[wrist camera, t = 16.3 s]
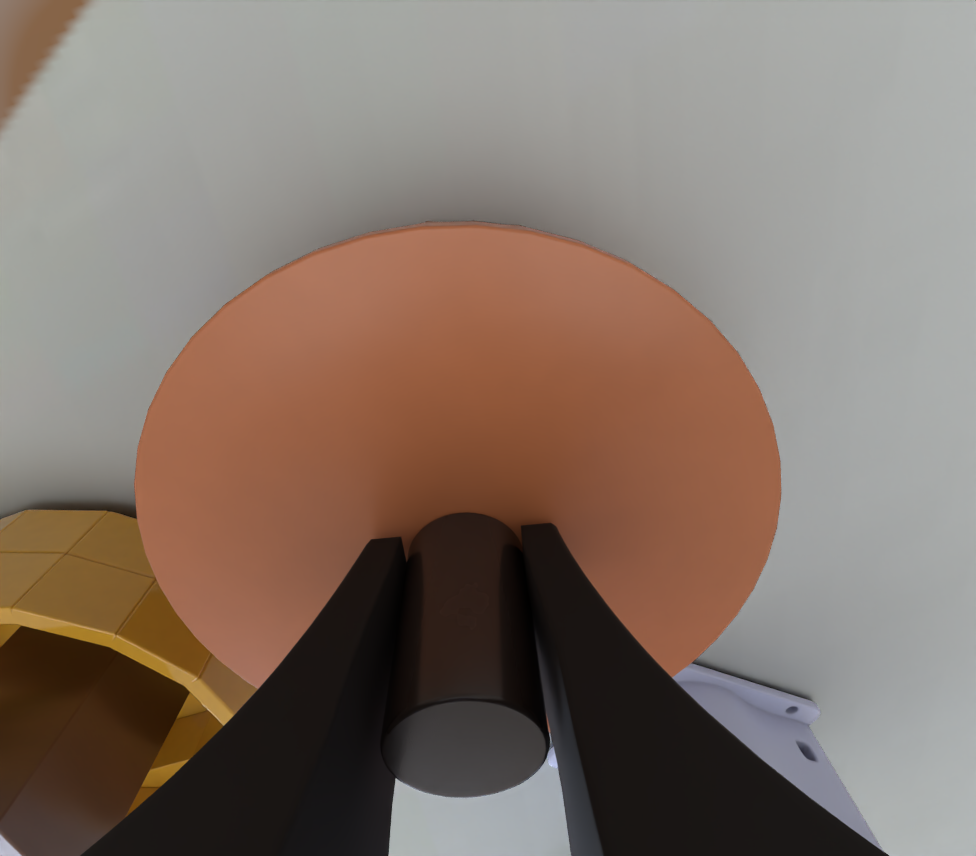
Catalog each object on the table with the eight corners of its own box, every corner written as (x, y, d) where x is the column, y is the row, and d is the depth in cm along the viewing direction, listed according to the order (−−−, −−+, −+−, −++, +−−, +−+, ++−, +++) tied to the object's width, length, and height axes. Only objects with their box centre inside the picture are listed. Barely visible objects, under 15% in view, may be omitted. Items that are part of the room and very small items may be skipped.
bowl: (339, 567, 18) (303, 682, 14) (256, 757, 23) (213, 880, 19) (-55, 446, 16) (-234, 546, 12) (-53, 690, 21) (-178, 818, 17)
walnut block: (157, 596, 18) (-5, 826, 12) (199, 675, 20) (78, 909, 14) (37, 607, 18) (-187, 842, 12) (91, 685, 20) (-78, 922, 14)
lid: (886, 391, 11) (1197, 567, 6) (574, 746, 16) (616, 980, 11) (242, 61, 8) (-79, -70, 3) (123, 632, 13) (-60, 886, 8)
